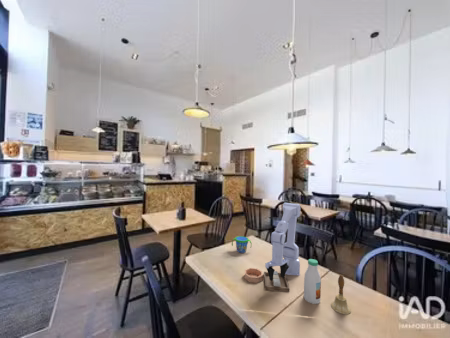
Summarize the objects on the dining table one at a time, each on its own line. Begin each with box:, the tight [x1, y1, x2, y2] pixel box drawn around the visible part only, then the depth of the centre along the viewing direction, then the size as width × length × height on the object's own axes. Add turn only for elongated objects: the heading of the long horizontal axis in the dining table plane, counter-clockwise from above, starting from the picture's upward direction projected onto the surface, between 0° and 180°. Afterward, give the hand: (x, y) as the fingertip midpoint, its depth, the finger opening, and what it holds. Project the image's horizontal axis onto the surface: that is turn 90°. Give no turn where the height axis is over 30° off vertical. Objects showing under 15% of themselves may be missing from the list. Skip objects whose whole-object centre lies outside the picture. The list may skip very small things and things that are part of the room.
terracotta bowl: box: [244, 267, 264, 284], centre depth 120 cm, size 10×10×4 cm
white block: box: [273, 279, 280, 287], centre depth 111 cm, size 3×4×3 cm
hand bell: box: [330, 274, 352, 315], centre depth 96 cm, size 8×8×16 cm
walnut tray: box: [263, 271, 290, 292], centre depth 115 cm, size 12×16×2 cm
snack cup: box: [231, 235, 252, 254], centre depth 158 cm, size 16×10×10 cm
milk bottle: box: [303, 258, 322, 305], centre depth 101 cm, size 8×8×20 cm
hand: (276, 278), depth 111 cm, fingers open, 7 cm apart
